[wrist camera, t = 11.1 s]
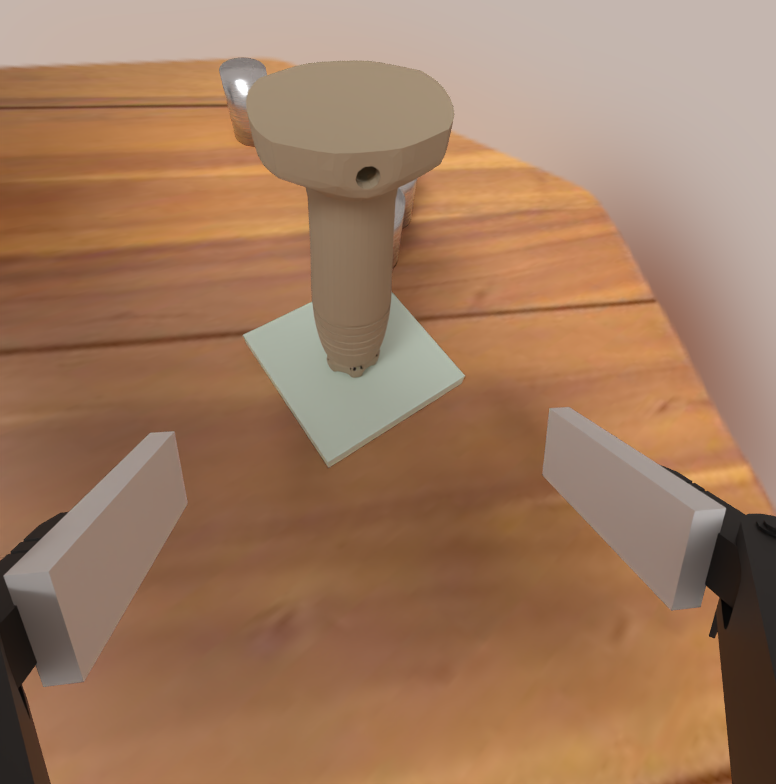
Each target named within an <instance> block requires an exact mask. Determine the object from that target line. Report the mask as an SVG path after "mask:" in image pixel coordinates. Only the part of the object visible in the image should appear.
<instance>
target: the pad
mask: <svg viewBox="0 0 776 784" xmlns="http://www.w3.org/2000/svg"><path fill="white" fill-rule="evenodd" d="M243 336H244V339H245V341H246V344H247V345H248V347H249V348H250V350H251V351H252V353H253V354H254V356H255V357H256V359H257V360H258V362H259V363H260V365H261V367H262V368H263V370H264V371H265V373H266V374H267V376H268V377H269V379H270V380H271V382H272V383H273V385H274V386H275V388H276V389H277V391H278V392H279V394H280V395H281V397H282V398H283V400H284V401H285V403H286V404H287V406H288V407H289V409H290V410H291V412H292V413H293V415H294V416H295V418H296V419H297V421H298V422H299V424H300V425H301V427H302V428H303V430H304V431H305V433H306V435H307V436H308V438H309V439H310V441H311V442H312V444H313V445H314V447H315V448H316V450H317V451H318V453H319V454H320V456H321V457H322V459H323V460H324V462H325V463H326V465H327V466H328V468H329V467H331V466H332V465H334V464H336V463H337V462H339V461H340V460H342V459H343V458H345V457H347V456H348V455H350V454H351V453H353V452H355V451H356V450H358V449H359V448H361V447H362V446H364V445H366V444H367V443H369V442H370V441H372V440H373V439H375V438H377V437H378V436H380V435H381V434H383V433H384V432H386V431H388V430H389V429H391V428H392V427H394V426H395V425H397V424H399V423H400V422H402V421H403V420H405V419H406V418H408V417H410V416H411V415H413V414H414V413H416V412H417V411H419V410H421V409H422V408H424V407H425V406H427V405H428V404H430V403H432V402H433V401H435V400H436V399H438V398H439V397H441V396H443V395H444V394H446V393H447V392H449V391H450V390H452V389H454V388H455V387H457V386H458V385H460V384H461V383H462V381H463V379H464V377H465V375H464V374H463V373H462V372H461V371H460V370H459V368H458V367H457V366H456V365H455V364H454V363H453V361H452V360H451V359H450V358H449V357H448V356H447V355H446V353H445V352H444V351H443V350H442V349H441V348H440V347H439V345H438V344H437V343H436V342H435V341H434V340H433V339H432V337H431V336H430V335H429V334H428V333H427V332H426V331H425V329H424V328H423V327H422V326H421V325H420V324H419V323H418V321H417V320H416V319H415V318H414V317H413V316H412V315H411V313H410V312H409V311H408V310H407V309H406V308H405V306H404V305H403V304H402V303H401V302H400V301H399V300H398V298H397V297H396V296H395V295H394V294H393V293H392V294H391V306H390V314H389V320H388V324H387V328H386V332H385V336H384V339H383V342H382V345H381V347H380V354H379V358H378V360H377V362H376V364H375V365H372V366H370V367H368V368H367V369H366V370H365V371H364V372H363V374H362V376H360V377H355V378H353V377H351V376H350V375H349V374H347V373H344V372H338V371H337V372H334V371H332V370H331V369H330V367H329V365H328V363H327V354H326V352H325V350H324V348H323V346H322V344H321V341H320V338H319V335H318V332H317V328H316V324H315V319H314V312H313V304H312V302H310V303H308V304H306V305H304V306H302V307H300V308H298V309H296V310H294V311H292V312H290V313H288V314H285V315H283V316H281V317H279V318H277V319H275V320H273V321H271V322H269V323H267V324H265V325H263V326H261V327H259V328H256V329H254V330H252V331H250V332H248V333H246V334H244V335H243Z"/></svg>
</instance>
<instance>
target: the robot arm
mask: <svg viewBox="0 0 776 784" xmlns="http://www.w3.org/2000/svg"><path fill="white" fill-rule="evenodd" d="M542 475H543V476H544V478H545V479H546V480H547V481H548V482H549V483H550V484H551V485H552V486H553V487H554V488H555V489H556V490H557V491H558V492H559V493H560V494H561V495H562V496H563V497H564V499H565V500H566V501H567V502H568V503H569V504H570V505H571V506H572V507H573V508H574V509H575V510H576V511H577V512H578V513H579V514H580V515H581V516H582V517H583V518H584V520H585V521H586V522H587V523H588V524H589V525H590V526H591V527H592V528H593V529H594V530H595V531H596V532H597V533H598V534H599V535H600V536H601V537H602V538H603V539H604V540H605V542H606V543H607V544H608V545H609V546H610V547H611V548H612V549H613V550H614V551H615V552H616V553H617V554H618V555H619V556H620V557H621V558H622V559H623V560H624V561H625V563H626V564H627V565H628V566H629V567H630V568H631V569H632V570H633V571H634V572H635V573H636V574H637V575H638V576H639V577H640V578H641V579H642V580H643V581H644V582H645V584H646V585H647V586H648V587H649V588H650V589H651V590H652V591H653V592H654V593H655V594H656V595H657V596H658V597H659V598H660V599H661V600H662V601H663V602H664V603H665V605H666V606H667V607H668V608H669V609H670V610H671V611H672V610H680V609H688V608H697V607H701V603H702V599H703V595H704V591H705V588H706V586H707V587H708V588H710V589H711V590H712V591H713V592H714V593H715V594H716V595H717V596H719V597H720V598H719V602H718V605H717V609H716V612H715V616H714V620H713V623H712V627H711V630H710V634H709V636H710V637H712V638H715V636H716V634H717V632H718V639H719V649H720V660H721V670H722V681H723V692H724V702H725V713H726V723H727V734H728V745H729V755H730V766H731V776H732V784H776V517H775V516H771V515H765V514H747V515H745V514H743V513H742V512H740V511H739V510H737V509H735V508H734V507H732V506H731V505H729V504H727V503H726V502H724V501H723V500H721V499H719V498H718V497H716V496H715V495H713V494H712V493H710V492H708V491H705V489H704V488H702V487H700V486H699V485H697V484H696V483H692V481H691V480H689V479H688V478H686V477H685V476H683V475H681V474H680V473H678V472H676V471H674V470H671V469H669V468H666V467H664V466H661V465H659V464H657V463H655V462H654V461H652V460H651V459H649V458H648V457H646V456H645V455H643V454H641V453H640V452H638V451H637V450H635V449H634V448H632V447H631V446H629V445H627V444H626V443H624V442H623V441H621V440H620V439H618V438H617V437H615V436H613V435H612V434H610V433H609V432H607V431H606V430H604V429H602V428H601V427H599V426H598V425H596V424H595V423H593V422H592V421H590V420H588V419H587V418H585V417H584V416H582V415H581V414H579V413H578V412H576V411H574V410H573V409H571V408H570V407H562V408H549V417H548V426H547V436H546V445H545V455H544V464H543V473H542ZM187 504H188V501H187V496H186V491H185V485H184V480H183V475H182V469H181V464H180V458H179V453H178V448H177V442H176V437H175V432H174V431H171V432H154V433H149V434H148V435H147V436H146V437H145V438H144V439H143V440H142V441H141V442H140V443H139V444H138V445H137V446H136V447H135V448H134V449H133V450H132V451H131V452H130V453H129V454H128V455H127V456H126V457H125V458H124V459H123V460H122V461H121V462H120V463H119V464H118V465H117V466H116V467H114V468H113V469H112V470H111V471H110V472H109V473H108V474H107V475H106V476H105V477H104V478H103V479H102V480H101V481H100V482H99V483H98V484H97V485H96V486H95V487H94V488H93V489H92V490H91V491H90V492H89V493H88V494H87V495H86V496H85V497H84V498H83V499H82V500H81V501H80V502H79V503H78V504H77V505H75V506H74V507H73V508H72V509H71V510H70V511H69V512H65V513H59V514H58V515H56V516H54V517H53V518H51V519H49V520H47V521H46V522H44V523H42V524H41V525H39V526H38V527H37V528H36V529H35V530H34V531H32V532H31V533H30V534H29V535H28V536H27V537H26V538H25V539H24V542H21V543H19V544H18V545H17V546H16V547H15V548H14V549H13V550H12V551H11V554H7V555H6V556H5V557H4V558H3V559H2V560H1V561H0V784H51V783H50V780H49V776H48V772H47V769H46V765H45V762H44V758H43V755H42V751H41V747H40V744H39V740H38V737H37V733H36V729H35V726H34V722H33V719H32V715H31V711H30V708H29V704H28V701H27V697H26V694H25V692H24V689H23V686H22V683H23V682H24V680H25V679H26V677H27V676H28V675H29V673H30V672H31V671H32V669H33V668H34V666H35V665H36V667H37V670H38V673H39V676H40V679H41V681H42V684H43V687H46V686H54V685H63V684H71V683H79V682H84V681H85V679H86V678H87V676H88V674H89V672H90V671H91V669H92V667H93V665H94V664H95V662H96V660H97V659H98V657H99V655H100V653H101V652H102V650H103V648H104V647H105V645H106V643H107V641H108V640H109V638H110V636H111V635H112V633H113V631H114V629H115V628H116V626H117V624H118V623H119V621H120V619H121V617H122V616H123V614H124V612H125V611H126V609H127V607H128V605H129V604H130V602H131V600H132V599H133V597H134V595H135V593H136V592H137V590H138V588H139V586H140V585H141V583H142V581H143V580H144V578H145V576H146V574H147V573H148V571H149V569H150V568H151V566H152V564H153V562H154V561H155V559H156V557H157V556H158V554H159V552H160V550H161V549H162V547H163V545H164V544H165V542H166V540H167V538H168V537H169V535H170V533H171V532H172V530H173V528H174V526H175V525H176V523H177V521H178V520H179V518H180V516H181V514H182V513H183V511H184V509H185V508H186V506H187Z"/></svg>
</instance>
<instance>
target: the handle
mask: <svg viewBox="0 0 776 784" xmlns="http://www.w3.org/2000/svg"><path fill="white" fill-rule="evenodd" d="M246 110H247V114H248V119H249V124H250V129H251V133H252V137H253V141H254V144H255V148H256V151H257V154H258V156H259V158H260V160H261V161H262V163H263V165H264V166H265V167H266V168H267V169H268V170H269V171H270V172H271V173H272V174H274V175H275V176H277V177H278V178H280V179H283V180H286V181H289V182H292V183H295V184H298V185H301V186H304V187H306V191H307V195H308V209H309V228H310V249H311V291H312V304H313V312H314V319H315V324H316V328H317V332H318V335H319V338H320V341H321V344H322V346H323V348H324V350H325V352H326V354H327V363H328V365H329V367H330V369H331V370H332V371H334V372H337V371H338V372H344V373H347V374H349V375H350V376H351V377H353V378H355V377H360V376H362V374H363V372H364V371H365V370H366V369H367V368H368V367H370V366H372V365H375V364H376V362H377V360H378V358H379V354H380V347H381V345H382V342H383V339H384V336H385V332H386V328H387V324H388V320H389V314H390V306H391V294H392V260H393V237H394V219H395V202H396V196H397V191H398V188H399V187H401V186H403V185H405V184H407V183H409V182H411V181H413V180H415V179H417V178H419V177H420V176H422V175H424V174H425V173H427V172H429V171H430V170H432V169H433V168H435V167H437V166H438V165H440V164H441V162H442V160H443V158H444V156H445V153H446V150H447V146H448V142H449V137H450V133H451V128H452V123H453V118H454V110H453V105H452V102H451V100H450V97H449V96H448V94H447V93H446V91H445V89H444V88H443V87H442V86H441V85H440V84H439V83H438V82H437V81H436V80H434V79H433V78H432V77H430V76H429V75H427V74H425V73H424V72H422V71H420V70H415V69H410V68H406V67H400V66H396V65H391V64H385V63H380V62H372V61H333V62H317V63H308V64H303V65H299V66H295V67H292V68H288V69H285V70H282V71H279V72H276V73H273V74H270V75H267V76H264V77H261V78H259V79H258V80H257V81H256V82H255V83H254V84H253V85H252V86H251V88H250V89H249V91H248V95H247V98H246Z"/></svg>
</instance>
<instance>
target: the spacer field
mask: <svg viewBox="0 0 776 784" xmlns="http://www.w3.org/2000/svg"><path fill="white" fill-rule="evenodd" d="M219 71H220V76H221V80H222V84H223V88H224V92H225V96H226V100H227V104H228V108H229V112H230V117H231V121H232V125H233V129H234V133H235V137H236V139H237V140H238V141H239V142H240V143H242V144H244V145H248V146H255V144H254V141H253V137H252V133H251V129H250V124H249V119H248V114H247V110H246V98H247V95H248V91H249V89H250V88H251V86H252V85H253V84H254V83H255V82H256V81H257V80H258V79H259V78H261V77H264V76H267V73H266V68H265V66H264V65H263V64H262V63H261V62H259V61H257V60H255V59H251V58H234V59H230V60H228V61H226V62H224V63H223V64H222V65H221V66H220V68H219ZM416 183H417V179H415V180H413V181H411V182H409V183H407V184H405V185H403V186H401V187H399V188H398V191H397V196H396V202H395V219H394V237H393V260H392V268H393V267H394V266H395V265H396V263H397V261H398V255H399V247H400V240H401V232H402V229H403V228H404V227H406V226H407V225H408V224H409V223H410V221H411V216H412V209H413V203H414V196H415V190H416Z"/></svg>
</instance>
